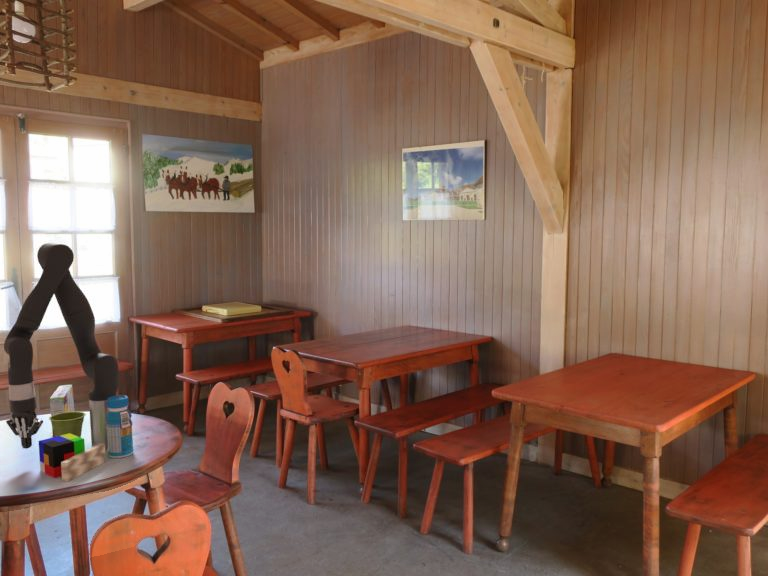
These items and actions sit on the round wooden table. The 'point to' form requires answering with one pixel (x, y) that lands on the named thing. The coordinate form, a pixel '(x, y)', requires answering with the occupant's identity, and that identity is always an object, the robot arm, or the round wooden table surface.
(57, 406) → the snack box
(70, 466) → the ash board
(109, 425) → the blue canister
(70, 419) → the plant pot
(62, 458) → the puzzle toy
